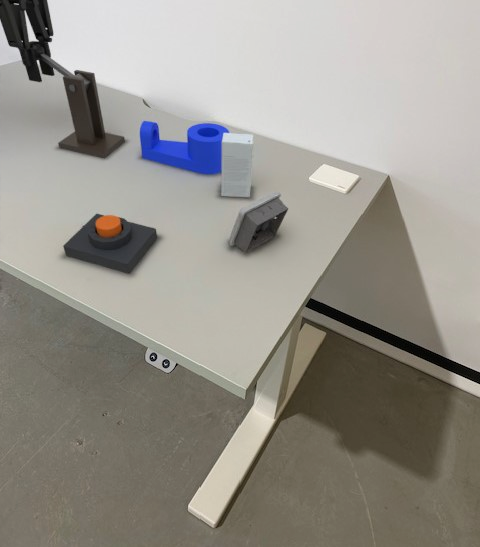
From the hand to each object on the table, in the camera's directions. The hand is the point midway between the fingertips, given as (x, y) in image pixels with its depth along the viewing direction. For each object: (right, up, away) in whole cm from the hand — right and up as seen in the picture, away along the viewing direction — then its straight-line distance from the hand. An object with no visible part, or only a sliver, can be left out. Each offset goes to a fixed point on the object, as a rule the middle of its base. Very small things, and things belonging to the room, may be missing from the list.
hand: (42, 77), depth 92 cm
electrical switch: (+47, -37, -16) cm, 62 cm away
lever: (+4, 0, -2) cm, 4 cm away
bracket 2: (+31, -17, +4) cm, 36 cm away
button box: (+21, -38, -19) cm, 48 cm away
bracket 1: (+8, -12, +8) cm, 17 cm away
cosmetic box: (+42, -26, -4) cm, 50 cm away
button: (+21, -36, -21) cm, 47 cm away
